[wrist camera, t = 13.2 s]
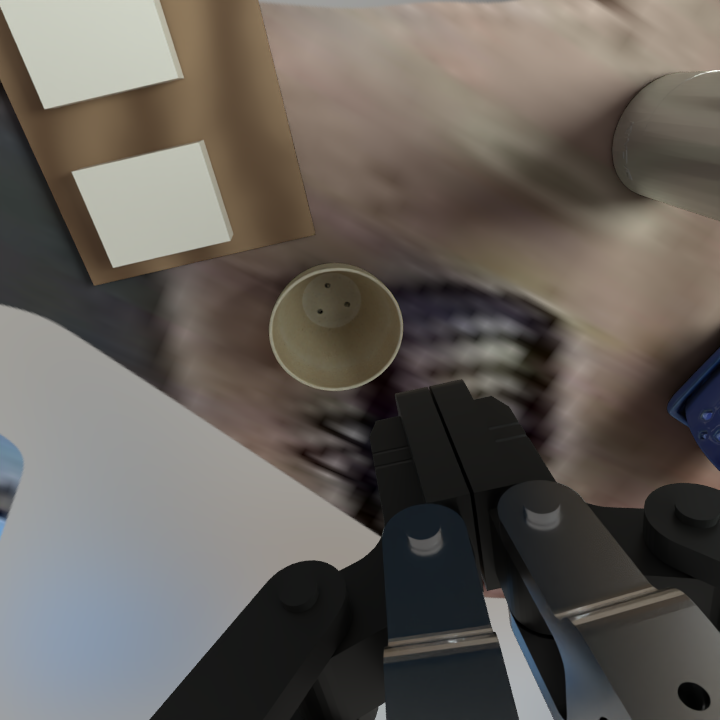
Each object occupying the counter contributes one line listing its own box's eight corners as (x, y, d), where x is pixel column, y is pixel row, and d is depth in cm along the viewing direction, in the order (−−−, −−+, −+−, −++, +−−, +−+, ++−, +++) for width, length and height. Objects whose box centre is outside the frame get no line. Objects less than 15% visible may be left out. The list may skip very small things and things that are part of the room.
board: (235, -92, 35) (233, -97, 34) (315, 231, 44) (315, 234, 43) (-41, -27, 35) (-50, -30, 34) (98, 281, 44) (94, 285, 44)
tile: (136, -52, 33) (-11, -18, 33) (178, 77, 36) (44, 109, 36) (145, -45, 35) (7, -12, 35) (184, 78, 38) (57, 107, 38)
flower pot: (250, 315, 47) (243, 351, 41) (314, 217, 44) (317, 240, 37) (346, 370, 50) (353, 412, 44) (412, 283, 47) (430, 314, 41)
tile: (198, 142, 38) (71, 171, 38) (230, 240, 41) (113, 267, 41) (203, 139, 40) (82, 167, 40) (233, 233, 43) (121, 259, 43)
